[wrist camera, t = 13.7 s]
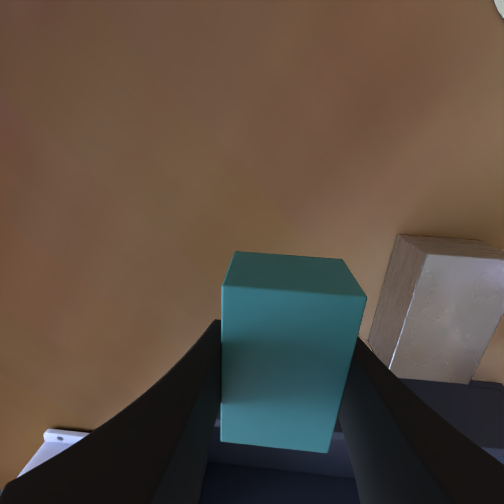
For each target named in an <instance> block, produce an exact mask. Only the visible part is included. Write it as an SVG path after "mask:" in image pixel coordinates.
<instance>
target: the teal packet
mask: <svg viewBox="0 0 504 504" xmlns="http://www.w3.org/2000/svg"><path fill="white" fill-rule="evenodd" d="M366 301H367V296H366V294H365V293H364V291H363V290H362V288H361V287H360V285H359V284H358V282H357V281H356V279H355V278H354V276H353V275H352V273H351V272H350V270H349V268H348V267H347V265H346V264H345V262H344V261H343V260H342V259H333V258H320V257H306V256H293V255H279V254H266V253H252V252H239V251H235V252H234V255H233V257H232V260H231V263H230V265H229V268H228V271H227V273H226V276H225V279H224V281H223V284H222V312H221V441H222V442H230V443H239V444H248V445H257V446H266V447H275V448H284V449H293V450H302V451H311V452H320V453H328V451H329V447H330V443H331V439H332V435H333V431H334V427H335V423H336V419H337V415H338V411H339V408H340V404H341V400H342V396H343V392H344V388H345V384H346V380H347V376H348V372H349V368H350V364H351V360H352V356H353V352H354V348H355V344H356V340H357V336H358V332H359V328H360V325H361V321H362V317H363V313H364V309H365V305H366Z"/></svg>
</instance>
